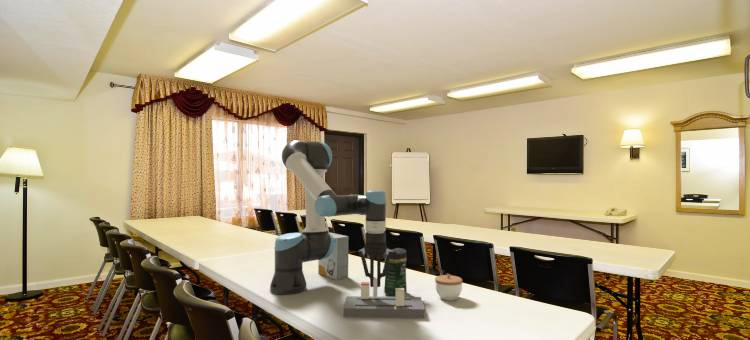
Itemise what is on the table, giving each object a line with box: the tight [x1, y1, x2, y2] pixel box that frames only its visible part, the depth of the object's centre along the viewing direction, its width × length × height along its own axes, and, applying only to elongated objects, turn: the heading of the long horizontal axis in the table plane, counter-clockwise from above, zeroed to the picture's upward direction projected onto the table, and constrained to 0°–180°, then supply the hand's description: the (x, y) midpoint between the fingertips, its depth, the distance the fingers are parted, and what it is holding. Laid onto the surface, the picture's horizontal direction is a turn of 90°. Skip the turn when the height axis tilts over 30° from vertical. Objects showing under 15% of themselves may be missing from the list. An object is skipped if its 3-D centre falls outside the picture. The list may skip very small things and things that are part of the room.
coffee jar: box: [383, 247, 408, 297], centre depth 152 cm, size 10×8×19 cm
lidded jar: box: [434, 273, 463, 302], centre depth 146 cm, size 11×11×9 cm
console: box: [342, 295, 426, 319], centre depth 132 cm, size 28×14×3 cm, turn 89°
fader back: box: [360, 281, 370, 299], centre depth 135 cm, size 3×2×6 cm
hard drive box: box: [317, 232, 349, 281], centre depth 180 cm, size 16×8×20 cm, turn 43°
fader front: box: [395, 288, 405, 306], centre depth 128 cm, size 3×2×6 cm
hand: (375, 295), depth 135 cm, fingers closed
